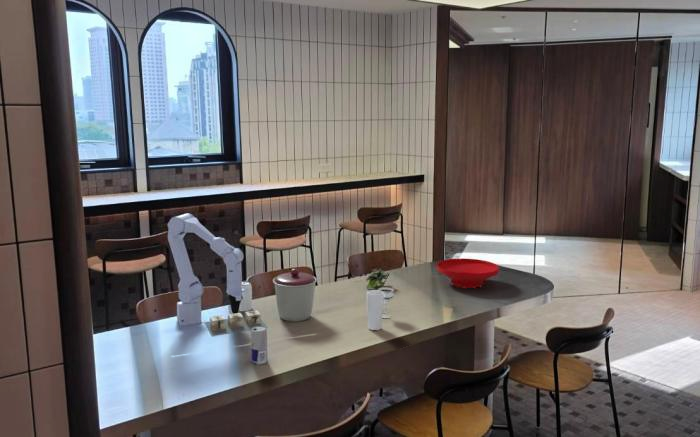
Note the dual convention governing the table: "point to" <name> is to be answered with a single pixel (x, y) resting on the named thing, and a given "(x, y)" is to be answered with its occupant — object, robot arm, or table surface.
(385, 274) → the green leafy plant
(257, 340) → the energy drink
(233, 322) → the plain block
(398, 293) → the table surface
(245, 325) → the mat
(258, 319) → the block numbered 7
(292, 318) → the canister
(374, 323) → the drinking glass
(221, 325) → the beige square block
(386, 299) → the wineglass
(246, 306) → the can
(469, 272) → the bowl
